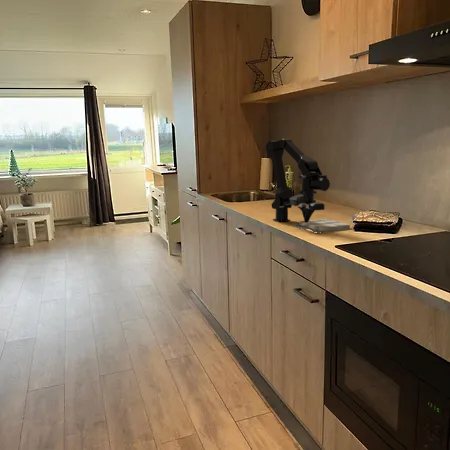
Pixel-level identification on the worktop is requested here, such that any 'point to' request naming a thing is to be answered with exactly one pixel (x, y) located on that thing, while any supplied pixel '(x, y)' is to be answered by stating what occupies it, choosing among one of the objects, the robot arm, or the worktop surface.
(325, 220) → the grey flat block
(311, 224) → the loose plank
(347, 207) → the worktop surface
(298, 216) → the worktop surface
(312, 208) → the robot arm
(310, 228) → the underlay mat
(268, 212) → the worktop surface
